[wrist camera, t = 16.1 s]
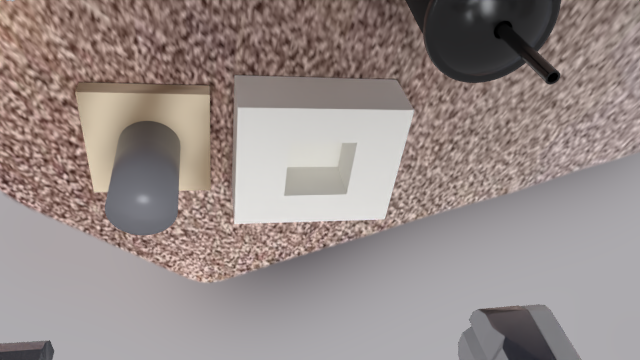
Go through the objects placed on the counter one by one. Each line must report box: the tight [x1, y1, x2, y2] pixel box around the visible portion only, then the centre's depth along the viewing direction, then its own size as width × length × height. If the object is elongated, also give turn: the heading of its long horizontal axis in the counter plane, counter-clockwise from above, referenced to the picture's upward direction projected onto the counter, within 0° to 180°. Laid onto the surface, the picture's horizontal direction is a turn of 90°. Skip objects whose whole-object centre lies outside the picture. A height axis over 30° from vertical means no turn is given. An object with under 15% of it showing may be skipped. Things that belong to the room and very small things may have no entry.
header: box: [232, 75, 414, 224], centre depth 46 cm, size 14×12×5 cm
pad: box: [75, 82, 211, 192], centre depth 45 cm, size 10×10×2 cm
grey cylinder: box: [105, 121, 181, 235], centre depth 41 cm, size 5×5×8 cm
